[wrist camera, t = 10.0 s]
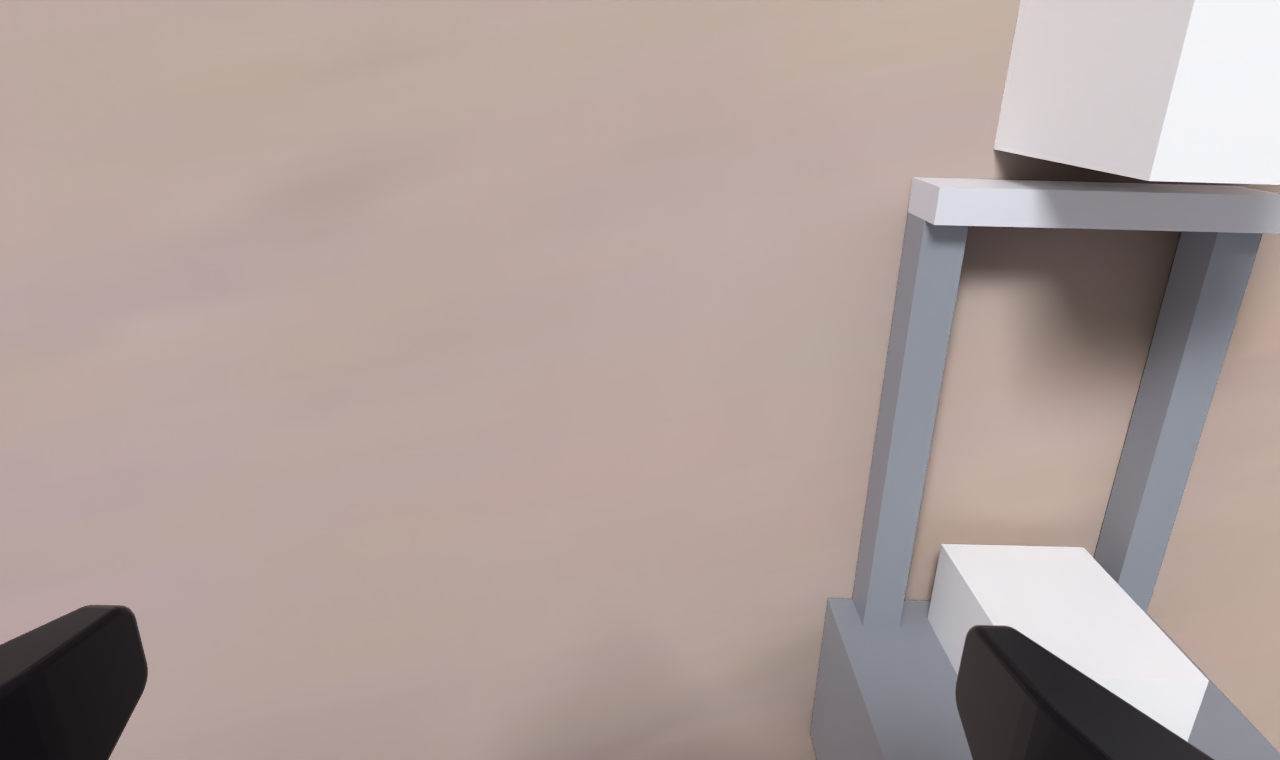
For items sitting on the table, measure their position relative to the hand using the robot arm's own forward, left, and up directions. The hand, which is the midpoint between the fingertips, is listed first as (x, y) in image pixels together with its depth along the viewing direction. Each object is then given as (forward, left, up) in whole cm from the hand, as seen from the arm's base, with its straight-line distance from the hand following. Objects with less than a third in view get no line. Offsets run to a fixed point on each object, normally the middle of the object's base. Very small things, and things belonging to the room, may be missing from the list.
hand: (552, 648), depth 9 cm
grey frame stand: (-5, -11, -12) cm, 17 cm away
